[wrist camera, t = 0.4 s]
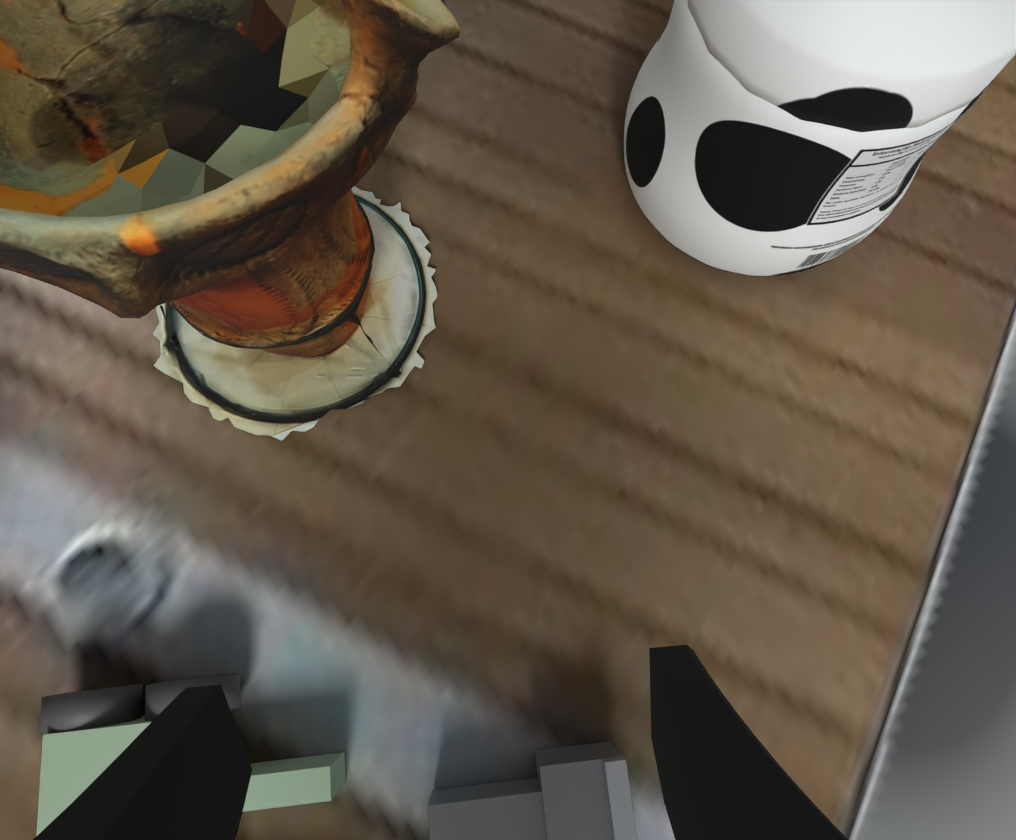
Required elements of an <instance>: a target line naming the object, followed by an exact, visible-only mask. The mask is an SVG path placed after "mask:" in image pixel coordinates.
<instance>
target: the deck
mask: <svg viewBox="0 0 1016 840" xmlns="http://www.w3.org/2000/svg"><path fill="white" fill-rule="evenodd" d="M211 685H221V686H222V688H223V691H224V694H225V697H226V699H227V702H228V705H229V707H230V710H232V709H236V708H238V707H240V673H232V674H220V675H211V676H203V677H195V678H187V679H180V680H173V681H166V682H160V683H155V684H150V685H146V692H145V715H142V700H143V684H134V685H124V686H115V687H106V688H98V689H91V690H83V691H76V692H70V693H63V694H57V695H51V696H46V697H42V702H41V717H40V732H39V733H40V734H45V735H43V744H42V759H41V774H40V789H39V805H38V820H37V835H39V834H40V833H41V832H42V831H43V830H44V829H45V828H46V827H47V826H48V825H49V824H50V823H51V822H52V821H53V820H54V819H55V818H57V817H58V816H59V815H60V814H61V813H62V812H63V811H64V810H65V809H66V808H67V807H68V806H69V805H70V804H71V803H72V802H73V801H74V800H75V799H76V798H77V797H78V796H79V795H80V794H81V793H82V792H83V791H84V790H85V789H86V788H87V787H88V786H89V785H90V784H91V783H92V782H93V781H94V780H95V779H96V778H97V777H98V776H99V775H100V774H101V773H102V772H103V771H104V770H105V769H106V768H107V767H108V766H109V765H110V764H111V763H112V762H113V761H114V760H115V759H116V758H117V757H118V756H119V755H120V754H121V753H122V752H123V751H124V750H125V749H126V748H127V747H128V746H129V745H130V744H131V743H132V742H133V741H134V740H135V739H136V738H137V737H138V735H139V734H140V733H141V732H142V731H143V730H144V729H145V728H146V727H147V726H148V725H149V724H150V723H151V722H152V721H153V720H154V719H155V718H156V717H157V716H158V715H159V714H160V713H161V712H162V711H163V710H164V709H165V708H166V707H167V706H168V705H169V704H170V703H171V702H172V701H173V700H174V699H175V698H176V697H177V696H178V695H179V694H180V693H181V692H182V691H183V690H184V689H185V688H187V687H199V686H211ZM250 765H251V767H252V773H251V778H250V782H249V786H248V791H247V795H246V799H245V804H244V808H243V811H242V812H244V811H252V810H260V809H268V808H276V807H284V806H292V805H300V804H308V803H317V802H325V801H331V800H332V799H333V798H334V797H335V795H336V794H337V793H338V792H339V791H340V790H341V788H342V787H343V786H344V785H345V784H346V770H345V752H341V753H332V754H324V755H316V756H308V757H299V758H291V759H283V760H274V761H266V762H258V763H250ZM37 835H36V836H37Z"/></svg>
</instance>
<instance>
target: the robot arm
mask: <svg viewBox="0 0 1016 840" xmlns="http://www.w3.org/2000/svg"><path fill="white" fill-rule="evenodd" d="M650 692H651V736H652V742H653V748H654V753H655V758H656V763H657V768H658V773H659V778H660V783H661V788H662V793H663V798H664V803H665V806H666V809H667V813H668V816H669V820H670V823H671V826H672V830H673V833H674V836H675V840H848V839H847V838H846V837H845V836H844V835H843V834H842V833H841V832H840V831H839V830H838V829H837V828H836V827H835V826H834V825H833V824H832V823H831V822H830V820H829V819H828V818H827V817H826V816H825V815H824V814H823V813H822V812H821V811H820V810H819V809H818V808H817V807H816V806H815V805H814V803H813V802H812V801H811V800H810V799H809V798H808V797H807V796H806V795H805V794H804V792H803V791H802V790H801V789H800V788H799V787H798V786H797V785H796V784H795V782H794V781H793V780H792V779H791V778H790V777H789V776H788V775H787V773H786V772H785V771H784V770H783V769H782V768H781V766H780V765H779V764H778V763H777V762H776V761H775V759H774V758H773V757H772V756H771V755H770V753H769V752H768V751H767V750H766V748H765V747H764V746H763V745H762V744H761V742H760V741H759V740H758V739H757V737H756V736H755V735H754V734H753V733H752V731H751V730H750V729H749V728H748V726H747V725H746V724H745V723H744V721H743V720H742V719H741V717H740V716H739V715H738V714H737V712H736V711H735V710H734V708H733V707H732V706H731V704H730V703H729V702H728V700H727V699H726V698H725V696H724V695H723V693H722V692H721V691H720V689H719V688H718V686H717V685H716V684H715V682H714V681H713V679H712V678H711V677H710V675H709V674H708V672H707V671H706V669H705V668H704V666H703V665H702V663H701V662H700V660H699V659H698V657H697V655H696V654H695V652H694V650H692V649H691V648H690V647H689V646H687V645H681V646H669V647H657V648H650ZM251 773H252V767H251V765H250V762H249V759H248V756H247V754H246V751H245V748H244V746H243V743H242V740H241V737H240V735H239V732H238V729H237V727H236V724H235V721H234V718H233V716H232V713H231V710H230V707H229V705H228V702H227V699H226V697H225V694H224V691H223V688H222V686H221V685H211V686H199V687H187V688H185V689H184V690H183V691H182V692H181V693H180V694H179V695H178V696H177V697H176V698H175V699H174V700H173V701H172V702H171V703H170V704H169V705H168V706H167V707H166V708H165V709H164V710H163V711H162V712H161V713H160V714H159V715H158V716H157V717H156V718H155V719H154V720H153V721H152V722H151V723H150V724H149V725H148V726H147V727H146V728H145V729H144V730H143V731H142V732H141V733H140V734H139V735H138V737H137V738H136V739H135V740H134V741H133V742H132V743H131V744H130V745H129V746H128V747H127V748H126V749H125V750H124V751H123V752H122V753H121V754H120V755H119V756H118V757H117V758H116V759H115V760H114V761H113V762H112V763H111V764H110V765H109V766H108V767H107V768H106V769H105V770H104V771H103V772H102V773H101V774H100V775H99V776H98V777H97V778H96V779H95V780H94V781H93V782H92V783H91V784H90V785H89V786H88V787H87V788H86V789H85V790H84V791H83V792H82V793H81V794H80V795H79V796H78V797H77V798H76V799H75V800H74V801H73V802H72V803H71V804H70V805H69V806H68V807H67V808H66V809H65V810H64V811H63V812H62V813H61V814H60V815H59V816H58V817H57V818H55V819H54V820H53V821H52V822H51V823H50V824H49V825H48V826H47V827H46V828H45V829H44V830H43V831H42V832H41V833H40V834H39V835H37V836H36V837H35V838H34V839H33V840H235V837H236V834H237V831H238V827H239V823H240V819H241V815H242V811H243V808H244V804H245V799H246V795H247V791H248V786H249V782H250V778H251Z"/></svg>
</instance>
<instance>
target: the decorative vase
mask: <svg viewBox="0 0 1016 840" xmlns="http://www.w3.org/2000/svg"><path fill="white" fill-rule="evenodd" d="M444 1H445V0H0V268H2V269H6V270H10V271H14V272H17V273H20V274H23V275H26V276H28V277H31V278H34V279H37V280H40V281H43V282H46V283H49V284H52V285H55V286H58V287H60V288H62V289H64V290H67V291H69V292H71V293H73V294H76V295H78V296H80V297H82V298H84V299H87V300H89V301H91V302H93V303H96V304H98V305H100V306H102V307H103V308H105V309H107V310H109V311H110V312H112V313H114V314H115V315H117V316H119V317H120V318H140V317H142V316H145V315H146V314H148V313H149V312H150V311H151V310H152V309H154V308H155V307H156V306H157V309H156V311H157V315H158V318H159V322H160V323H159V325H158V326H157V328H156V329H155V331H154V333H153V335H154V336H155V337H157V338H158V339H159V340H160V345H161V356H160V357H159V359H158V360H157V362H156V363H155V364H154V367H156V368H157V369H159V370H160V371H162V372H163V373H165V374H167V375H169V376H171V377H173V378H175V379H176V380H178V381H180V382H182V383H183V386H184V393H185V394H186V396H187V397H188V398H189V399H190V400H191V402H193V403H196V404H199V405H203V406H206V407H208V408H209V410H210V412H211V414H212V416H213V418H214V419H216V420H218V421H221V420H223V419H226V418H229V420H230V421H231V422H232V424H233V425H234V427H236V428H238V429H241V430H244V431H247V432H250V433H252V434H255V435H269V436H272V437H274V438H277V439H279V440H283V439H284V438H285V437H286V436H287V435H288V434H289V433H290V432H291V431H304V432H306V431H307V430H309V429H311V428H313V427H314V426H315V424H316V423H317V421H318V420H319V419H320V418H321V417H323V416H324V415H325V414H326V413H327V412H328V411H330V410H331V409H348V408H351V407H354V406H357V405H360V404H362V403H363V402H365V401H366V400H367V399H369V398H370V397H371V396H374V395H377V394H379V393H382V392H383V391H384V390H386V389H387V388H393V387H400V386H401V384H402V383H403V381H404V380H405V378H406V377H407V375H408V374H409V373H410V371H411V370H412V369H413V368H414V366H416V367H418V368H422V366H423V363H424V360H423V359H422V358H421V357H420V356H419V354H418V353H417V352H416V351H417V349H418V348H419V346H420V344H421V342H422V340H423V339H424V337H425V336H426V335H427V334H428V333H429V332H431V331H432V330H433V329H434V328H436V327H435V323H434V317H433V305H432V303H433V302H434V300H435V299H436V298H437V296H438V295H437V291H436V286H435V284H434V282H433V280H432V278H431V277H432V276H433V274H434V272H435V271H436V269H433V268H430V267H427V266H428V262H429V259H430V257H431V254H430V253H429V252H428V251H427V250H426V249H425V246H426V245H427V244H428V243H429V241H428V240H427V238H426V237H425V235H424V234H423V232H422V231H421V229H420V228H417V227H414V226H412V225H411V223H410V220H409V214H407V213H405V212H402V211H401V202H399V203H398V204H396V205H395V206H389V207H388V206H384V205H381V204H380V201H381V199H376V198H375V196H374V194H373V192H368V191H363V190H360V189H359V188H357V187H355V185H356V184H357V182H358V181H359V180H360V179H361V178H362V177H363V176H364V175H365V174H366V172H367V171H368V170H369V169H370V168H371V166H372V165H373V164H374V163H375V162H376V160H377V159H378V157H379V156H380V154H381V153H382V151H383V150H384V148H385V147H386V145H387V143H388V141H389V139H390V138H391V136H392V134H393V132H394V130H395V128H396V126H397V124H398V123H399V122H400V121H401V119H402V118H403V117H404V116H405V114H406V113H407V112H408V111H409V109H410V108H411V107H412V105H413V104H414V102H415V99H416V97H417V93H416V85H417V79H418V66H419V63H420V62H421V61H422V60H423V59H424V58H425V57H426V56H427V54H428V53H430V52H432V51H434V50H436V49H438V48H440V47H442V46H443V45H445V44H447V43H449V42H451V41H453V40H454V39H456V38H458V37H459V34H460V28H459V26H458V24H457V22H456V20H455V18H454V16H453V14H452V13H451V11H450V10H449V8H448V7H447V5H446V4H445V3H444Z"/></svg>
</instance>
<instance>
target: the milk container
mask: <svg viewBox="0 0 1016 840" xmlns="http://www.w3.org/2000/svg"><path fill="white" fill-rule="evenodd" d="M1015 54H1016V0H674V4H673V8H672V12H671V15H670V18H669V22H668V25H667V27H666V29H665V30H664V32H663V34H662V35H661V36H660V38H659V39H658V41H657V42H656V44H655V45H654V47H653V48H652V50H651V51H650V53H649V54H648V56H647V58H646V59H645V61H644V63H643V65H642V67H641V69H640V71H639V73H638V76H637V78H636V80H635V83H634V86H633V88H632V91H631V95H630V98H629V102H628V106H627V112H626V118H625V126H624V161H625V168H626V174H627V178H628V181H629V184H630V187H631V190H632V192H633V195H634V197H635V199H636V201H637V203H638V205H639V206H640V208H641V210H642V212H643V213H644V215H645V216H646V217H647V219H648V220H649V221H650V222H651V224H652V225H653V226H654V227H655V228H656V229H657V230H658V231H659V233H660V234H661V235H662V236H663V237H664V238H665V239H666V240H667V241H668V242H669V243H670V244H672V245H673V246H674V247H676V248H677V249H679V250H680V251H682V252H684V253H685V254H687V255H689V256H691V257H692V258H694V259H696V260H698V261H699V262H701V263H704V264H706V265H708V266H710V267H713V268H717V269H720V270H724V271H729V272H733V273H738V274H743V275H750V276H773V275H785V274H792V273H796V272H801V271H804V270H807V269H811V268H814V267H816V266H818V265H821V264H823V263H825V262H827V261H829V260H831V259H832V258H834V257H836V256H838V255H840V254H842V253H843V252H845V251H846V250H848V249H849V248H851V247H852V246H854V245H855V244H857V243H858V242H860V241H861V240H862V239H864V238H865V237H866V236H867V235H868V234H870V233H871V232H872V231H873V230H874V229H875V228H876V227H877V226H878V225H879V224H880V223H881V222H882V221H883V220H884V219H885V218H886V217H887V216H888V215H889V214H890V213H891V211H892V210H893V209H894V208H895V206H896V205H897V204H898V202H899V201H900V200H901V198H902V197H903V195H904V194H905V192H906V191H907V189H908V187H909V185H910V183H911V181H912V179H913V177H914V175H915V173H916V171H917V169H918V167H919V165H920V163H921V161H922V158H923V156H924V155H925V153H926V151H927V150H928V149H929V148H930V147H931V146H932V145H933V143H934V142H935V141H936V140H937V139H938V138H939V137H940V136H941V135H942V134H943V133H944V132H945V131H946V130H947V129H948V128H950V127H951V126H952V125H953V124H954V123H955V122H956V121H957V120H958V119H959V118H960V117H961V116H962V115H963V114H964V113H965V112H966V111H967V110H968V109H969V108H970V107H971V106H972V105H973V103H974V102H975V101H976V100H977V99H978V98H979V96H980V95H981V94H982V92H983V91H984V89H985V88H986V86H987V85H988V84H989V83H990V82H991V81H992V80H993V79H994V77H995V76H996V75H997V74H998V73H999V72H1000V71H1001V70H1002V69H1003V67H1004V66H1005V65H1006V64H1007V63H1008V62H1009V61H1010V60H1011V59H1012V57H1013V56H1014V55H1015Z"/></svg>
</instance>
